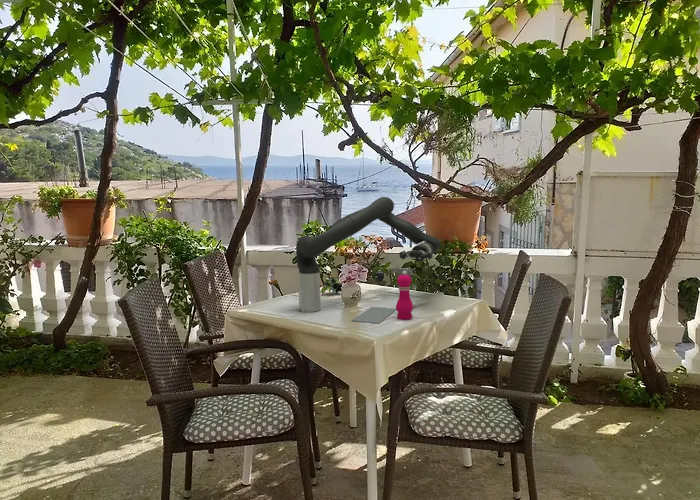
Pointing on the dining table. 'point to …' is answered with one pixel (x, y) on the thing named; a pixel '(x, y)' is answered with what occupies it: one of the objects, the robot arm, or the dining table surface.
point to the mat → (374, 315)
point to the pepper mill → (404, 297)
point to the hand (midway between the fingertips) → (411, 257)
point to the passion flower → (332, 285)
